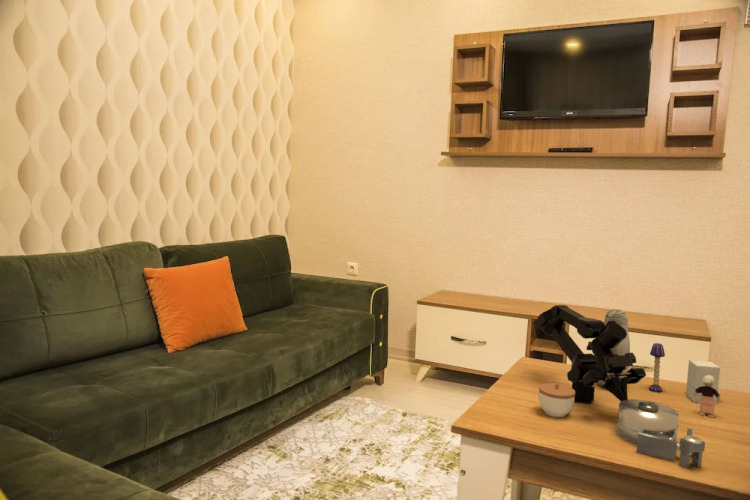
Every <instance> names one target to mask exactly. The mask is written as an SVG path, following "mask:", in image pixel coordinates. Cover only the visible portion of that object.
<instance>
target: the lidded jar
mask: <svg viewBox="0 0 750 500" xmlns="http://www.w3.org/2000/svg"><path fill="white" fill-rule="evenodd" d="M574 398H575V390H574V389H572V387H570V386H568V385H565V384H561V383H557V382H555V383H550V382H548V383H547V382H546V383H541V384H540V385H538V402H539V405H540V407H541V409H542V410H543V411H544V413H545V414H546V415H547V416H550V417H553V418H564V417H565V416H566V415H567V414H569V413H570V412H571V411H572V409H573V406H574V403H575V401H574Z"/></svg>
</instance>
